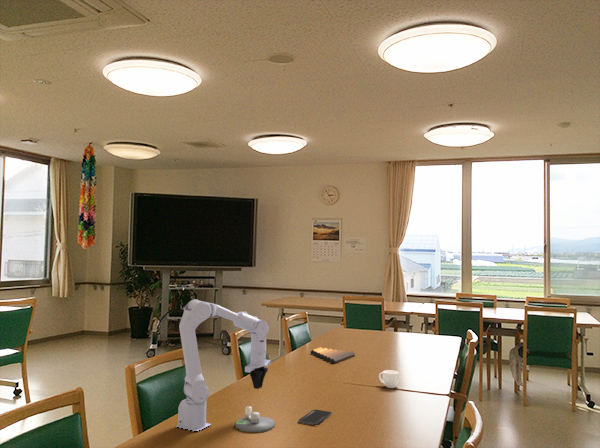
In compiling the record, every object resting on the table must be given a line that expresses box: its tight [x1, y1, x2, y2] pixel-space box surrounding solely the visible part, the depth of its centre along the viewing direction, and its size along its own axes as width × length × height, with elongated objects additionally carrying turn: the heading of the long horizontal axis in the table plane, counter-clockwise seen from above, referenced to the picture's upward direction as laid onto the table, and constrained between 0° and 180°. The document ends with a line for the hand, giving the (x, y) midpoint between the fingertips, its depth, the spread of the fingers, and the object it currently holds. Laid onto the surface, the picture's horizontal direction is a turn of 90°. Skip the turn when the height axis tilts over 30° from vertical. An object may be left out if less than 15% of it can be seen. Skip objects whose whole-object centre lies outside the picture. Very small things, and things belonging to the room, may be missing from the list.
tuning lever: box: [244, 405, 260, 423], centre depth 181 cm, size 8×3×4 cm, turn 31°
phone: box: [298, 409, 333, 426], centre depth 187 cm, size 8×1×15 cm
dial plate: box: [234, 415, 276, 433], centre depth 178 cm, size 14×14×1 cm
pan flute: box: [310, 346, 356, 365], centre depth 294 cm, size 25×3×25 cm
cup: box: [378, 369, 401, 389], centre depth 233 cm, size 8×10×7 cm
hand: (257, 387), depth 189 cm, fingers closed
